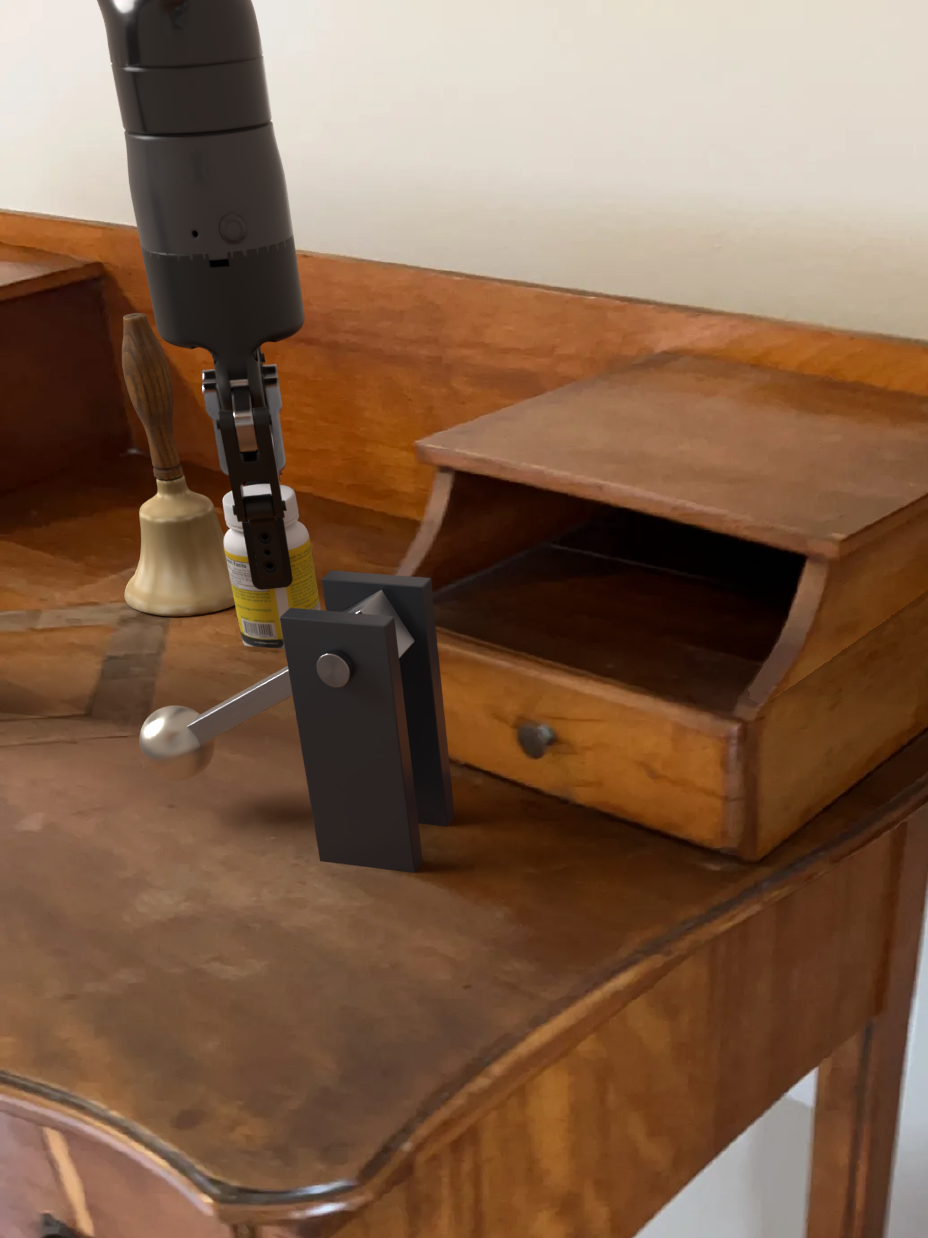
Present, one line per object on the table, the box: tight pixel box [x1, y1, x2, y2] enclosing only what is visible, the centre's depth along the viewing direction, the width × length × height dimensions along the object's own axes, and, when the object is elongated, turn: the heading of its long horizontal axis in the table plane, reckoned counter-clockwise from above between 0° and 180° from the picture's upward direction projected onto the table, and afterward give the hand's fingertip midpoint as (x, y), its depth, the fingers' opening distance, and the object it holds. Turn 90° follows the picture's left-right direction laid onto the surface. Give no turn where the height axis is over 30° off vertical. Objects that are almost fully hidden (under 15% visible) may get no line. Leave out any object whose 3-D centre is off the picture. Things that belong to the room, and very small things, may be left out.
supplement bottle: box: [222, 484, 322, 650], centre depth 87 cm, size 5×5×8 cm
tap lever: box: [139, 590, 414, 781], centre depth 64 cm, size 14×3×3 cm, turn 74°
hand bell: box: [121, 312, 235, 618], centre depth 91 cm, size 8×8×16 cm
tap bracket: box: [280, 570, 456, 874], centre depth 64 cm, size 8×8×13 cm
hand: (271, 567), depth 86 cm, fingers closed on supplement bottle, 4 cm apart
